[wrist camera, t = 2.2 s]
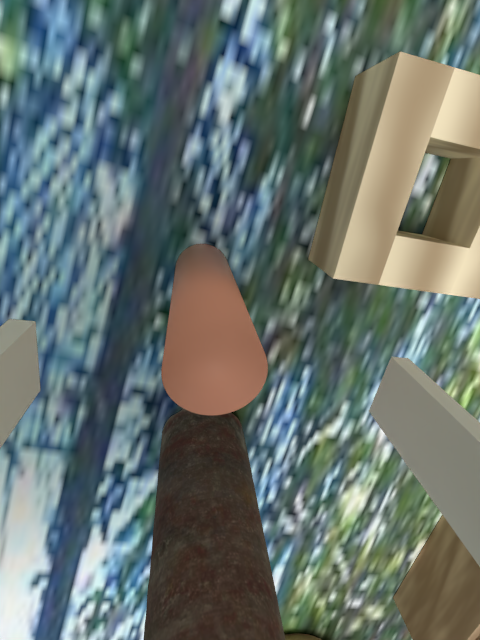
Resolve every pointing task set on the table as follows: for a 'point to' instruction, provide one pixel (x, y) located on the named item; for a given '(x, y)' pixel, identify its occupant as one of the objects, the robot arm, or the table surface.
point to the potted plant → (300, 637)
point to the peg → (210, 338)
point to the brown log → (208, 538)
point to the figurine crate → (441, 590)
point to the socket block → (405, 180)
